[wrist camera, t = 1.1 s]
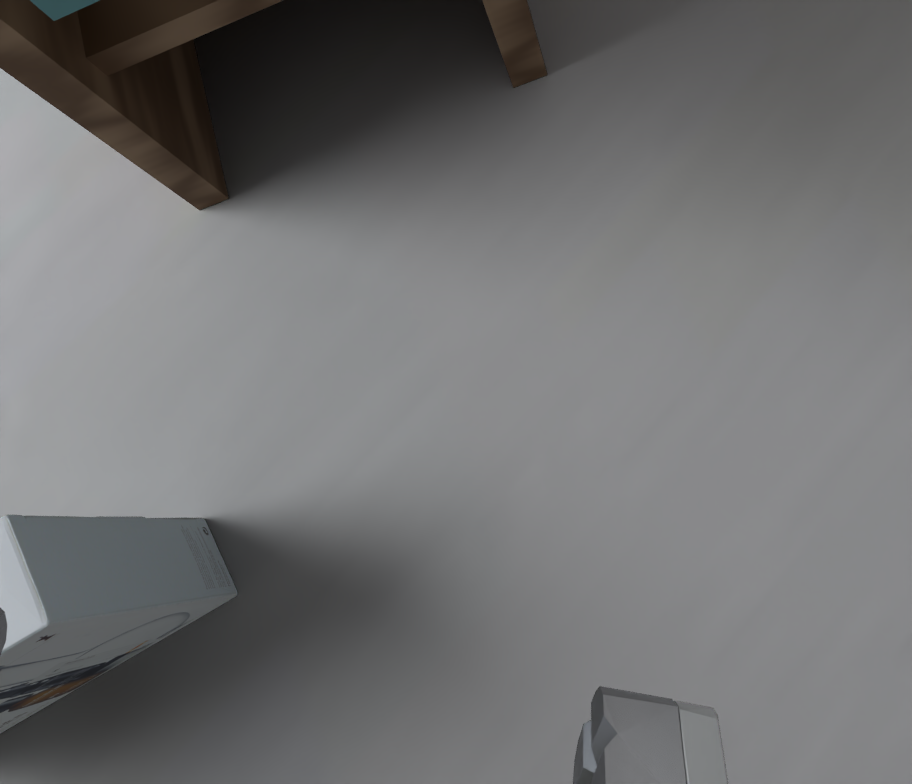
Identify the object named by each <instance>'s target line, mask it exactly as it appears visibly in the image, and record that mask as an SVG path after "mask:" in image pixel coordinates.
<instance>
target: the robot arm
mask: <svg viewBox="0 0 912 784" xmlns="http://www.w3.org/2000/svg"><path fill="white" fill-rule="evenodd" d="M6 635H7V620H6V615H5V612H4V611H3V610H2V609H1V608H0V655H1V653H2V650H3V647H4V645H5V642H6ZM573 784H728V778H727V772H726V765H725V759H724V753H723V746H722V740H721V733H720V727H719V720H718V715H717V714H716V712H715V710H714V708H711V707H707V706H701V705H696V704H691V703H685V702H680V701H673V700H672V699H669V698H664V697H658V696H652V695H647V694H641V693H635V692H630V691H624V690H618V689H613V688H607V687H602V686H600V687H599V688H598V689H597V690H596V692H595V694H594V697H593V699H592V702H591V720H590V721H588V722H586V723H584V724H583V727H582V730H581V733H580V736H579V739H578V744H577V749H576V755H575V760H574V773H573Z"/></svg>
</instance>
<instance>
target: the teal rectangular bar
mask: <svg viewBox="0 0 912 784" xmlns="http://www.w3.org/2000/svg"><path fill="white" fill-rule="evenodd" d="M30 1H31V2H32V3H33V4H35V5H36V6H37V7H38V8H39V9H40V10H42V11H43V12H44V13H45V14H46V15H47V16H49V17H50V18H51V19H52V20H53V21H55V20H58V19H60V18H62V17H64V16H66V15H69V14H71V13H73V12H75V11H78V10H80V9H82V8H84V7H86V6H89V5H91V4H93V3H95V2H98V1H100V0H30Z"/></svg>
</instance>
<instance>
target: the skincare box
mask: <svg viewBox="0 0 912 784" xmlns="http://www.w3.org/2000/svg"><path fill="white" fill-rule="evenodd" d="M237 595H238V593H237V590H236V588H235V585H234V583H233V580H232V578H231V576H230V574H229V572H228V569H227V567H226V565H225V563H224V561H223V558H222V556H221V554H220V552H219V550H218V547H217V545H216V543H215V540H214V538H213V536H212V534H211V532H210V529H209V527H208V525H207V523H206V521H205V520H204V519H203V518H145V517H101V516H100V517H68V516H22V515H4V516H2V517H0V608H1V609H2V610H3V611H4V612H5V615H6V620H7V635H6V642H5V645H4V647H3V650H2V653H1V655H0V733H2V732H4V731H5V730H7V729H9V728H11V727H12V726H14V725H16V724H17V723H19V722H21V721H23V720H24V719H26V718H28V717H30V716H31V715H33V714H35V713H36V712H38V711H40V710H42V709H43V708H45V707H47V706H48V705H50V704H52V703H54V702H55V701H57V700H59V699H61V698H62V697H64V696H66V695H67V694H69V693H71V692H73V691H74V690H76V689H78V688H80V687H81V686H83V685H85V684H86V683H88V682H90V681H92V680H93V679H95V678H97V677H99V676H100V675H102V674H104V673H106V672H107V671H109V670H111V669H112V668H114V667H116V666H118V665H119V664H121V663H123V662H124V661H126V660H128V659H130V658H131V657H133V656H135V655H136V654H138V653H140V652H142V651H143V650H145V649H147V648H148V647H150V646H152V645H154V644H155V643H157V642H159V641H161V640H162V639H164V638H166V637H167V636H169V635H171V634H173V633H174V632H176V631H178V630H180V629H181V628H183V627H185V626H186V625H188V624H190V623H192V622H193V621H195V620H197V619H198V618H200V617H202V616H204V615H205V614H207V613H209V612H210V611H212V610H214V609H216V608H217V607H219V606H221V605H222V604H224V603H226V602H228V601H229V600H231V599H233V598H234V597H236V596H237Z"/></svg>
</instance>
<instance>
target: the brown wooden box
mask: <svg viewBox="0 0 912 784" xmlns="http://www.w3.org/2000/svg"><path fill="white" fill-rule="evenodd" d="M281 1H283V0H100V1H98V2H95V3H93V4H91V5H89V6H86V7H84V8H82V9H80V10H78V11H75V12H73V13H71V14H69V15H66V16H64V17H62V18H60V19H58V20H55V21H53V20H52V19H51V18H50V17H49V16H47V15H46V14H45V13H44V12H43V11H42V10H40V9H39V8H38V7H37V6H36V5H35V4H33V3H32V2H31V1H30V0H0V68H1V69H3V70H4V71H5V72H7V73H8V74H10V75H11V76H12V77H14V78H15V79H17V80H18V81H19V82H21V83H22V84H24V85H25V86H26V87H28V88H29V89H31V90H32V91H33V92H35V93H36V94H38V95H39V96H40V97H42V98H43V99H45V100H46V101H47V102H49V103H50V104H52V105H53V106H54V107H56V108H57V109H59V110H60V111H61V112H63V113H64V114H66V115H67V116H68V117H70V118H71V119H73V120H74V121H75V122H77V123H78V124H80V125H81V126H82V127H84V128H85V129H87V130H88V131H89V132H91V133H92V134H94V135H95V136H96V137H98V138H99V139H101V140H102V141H103V142H105V143H106V144H108V145H109V146H110V147H112V148H113V149H115V150H116V151H117V152H119V153H120V154H122V155H123V156H124V157H126V158H127V159H129V160H130V161H131V162H133V163H134V164H136V165H137V166H138V167H140V168H141V169H143V170H144V171H145V172H147V173H148V174H150V175H151V176H152V177H154V178H155V179H157V180H158V181H159V182H161V183H162V184H164V185H165V186H166V187H168V188H169V189H171V190H172V191H173V192H175V193H176V194H178V195H179V196H180V197H182V198H183V199H185V200H186V201H187V202H189V203H190V204H192V205H193V206H194V207H196V208H197V209H198V210H201V209H204V208H206V207H209V206H212V205H214V204H217V203H219V202H222V201H224V200H227V199H229V197H228V192H227V188H226V184H225V179H224V175H223V170H222V166H221V161H220V157H219V152H218V148H217V143H216V139H215V134H214V130H213V125H212V121H211V116H210V112H209V107H208V103H207V98H206V94H205V89H204V85H203V81H202V76H201V72H200V67H199V63H198V58H197V54H196V49H195V45H194V40H193V39H195V38H197V37H199V36H202V35H204V34H206V33H209V32H211V31H213V30H216V29H218V28H220V27H223V26H225V25H227V24H230V23H232V22H234V21H237V20H239V19H241V18H244V17H246V16H248V15H251V14H253V13H255V12H258V11H260V10H262V9H265V8H267V7H269V6H272V5H274V4H276V3H278V2H281ZM482 1H483V4H484V7H485V10H486V12H487V15H488V18H489V21H490V24H491V26H492V29H493V32H494V35H495V38H496V40H497V43H498V46H499V49H500V52H501V54H502V57H503V60H504V63H505V66H506V68H507V71H508V74H509V77H510V80H511V83H512V85H513V88H515V87H518V86H520V85H523V84H525V83H528V82H530V81H533V80H536V79H538V78H541V77H543V76H546V75H547V71H546V68H545V64H544V60H543V57H542V53H541V50H540V46H539V42H538V39H537V35H536V31H535V28H534V24H533V21H532V17H531V13H530V10H529V6H528V2H527V0H482Z"/></svg>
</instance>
